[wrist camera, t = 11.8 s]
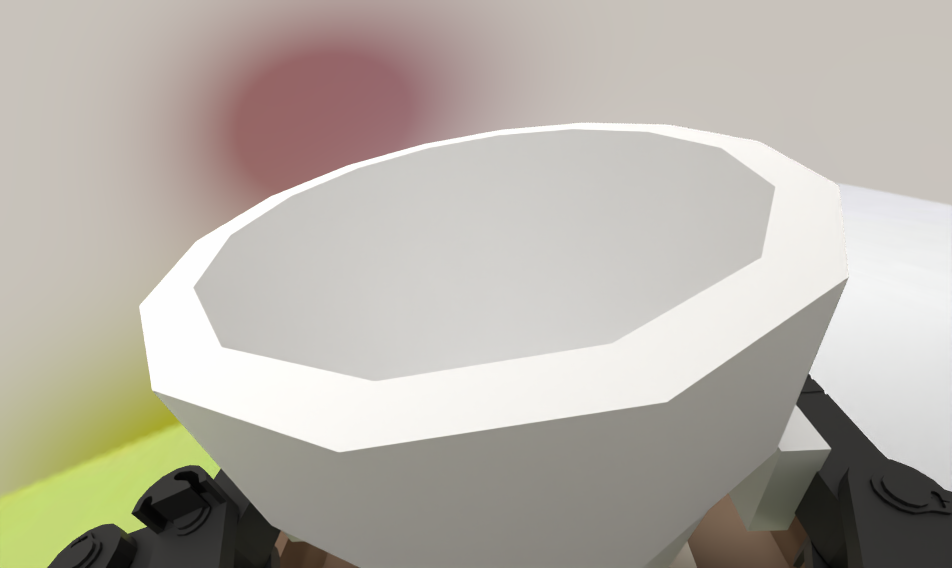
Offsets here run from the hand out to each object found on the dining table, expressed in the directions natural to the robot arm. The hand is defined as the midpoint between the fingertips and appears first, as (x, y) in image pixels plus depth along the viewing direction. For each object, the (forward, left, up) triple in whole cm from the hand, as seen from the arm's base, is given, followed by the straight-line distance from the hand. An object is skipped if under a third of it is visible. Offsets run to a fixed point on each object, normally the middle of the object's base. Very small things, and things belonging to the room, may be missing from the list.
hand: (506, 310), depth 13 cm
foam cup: (-2, +4, -7) cm, 9 cm away
